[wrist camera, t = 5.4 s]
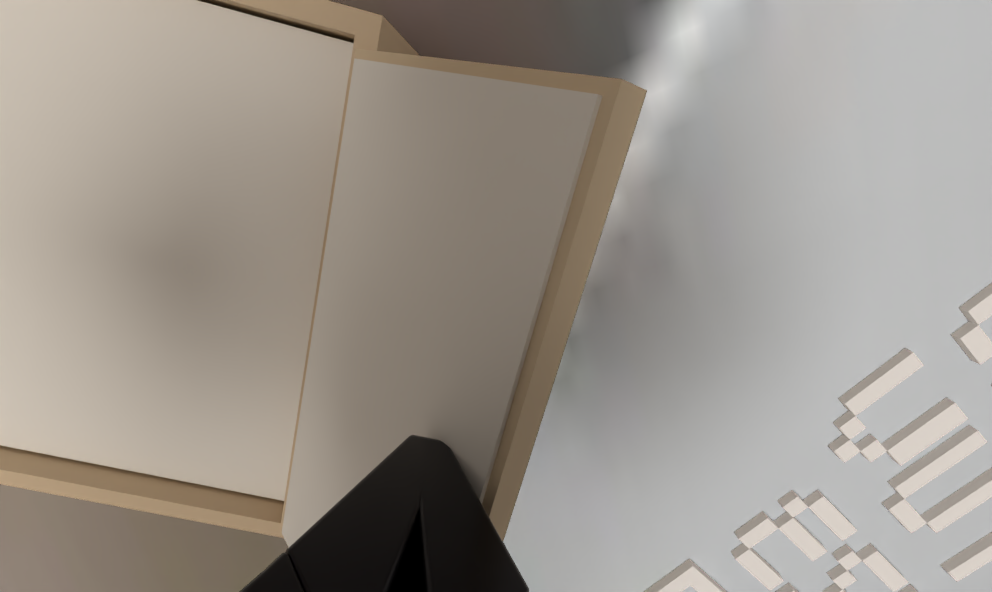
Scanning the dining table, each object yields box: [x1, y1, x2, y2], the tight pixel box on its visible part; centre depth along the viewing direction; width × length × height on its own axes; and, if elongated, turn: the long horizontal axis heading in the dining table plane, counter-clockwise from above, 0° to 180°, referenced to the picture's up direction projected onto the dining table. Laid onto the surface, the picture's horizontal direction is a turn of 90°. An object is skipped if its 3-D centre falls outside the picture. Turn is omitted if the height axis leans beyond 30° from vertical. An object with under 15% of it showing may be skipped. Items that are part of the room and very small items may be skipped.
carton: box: [0, 0, 420, 538], centre depth 15 cm, size 14×18×6 cm
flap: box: [281, 48, 647, 548], centre depth 10 cm, size 12×7×1 cm
